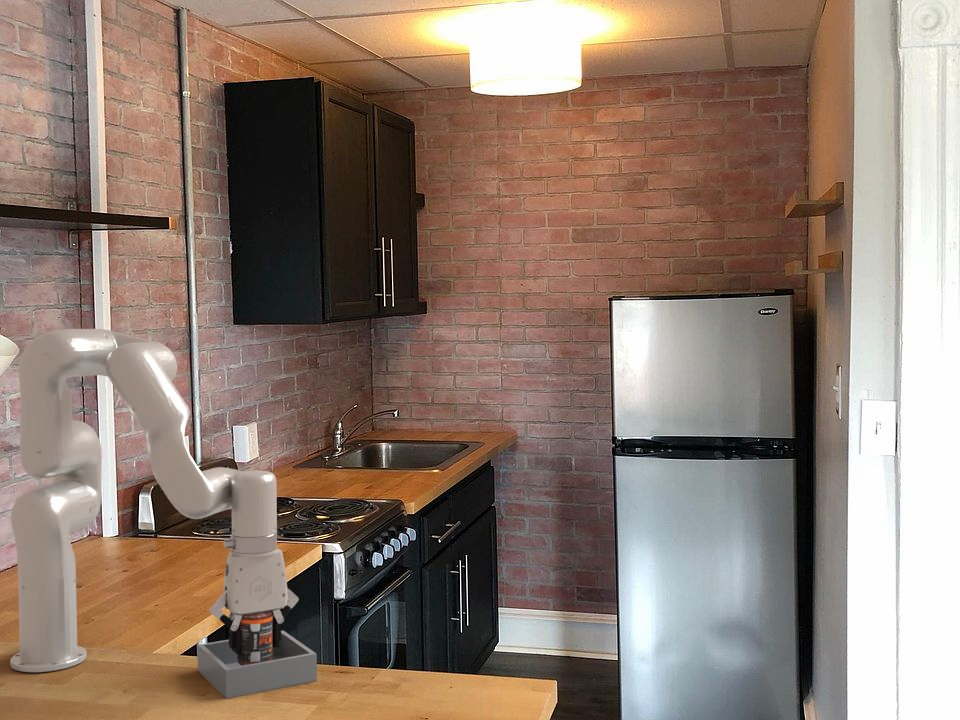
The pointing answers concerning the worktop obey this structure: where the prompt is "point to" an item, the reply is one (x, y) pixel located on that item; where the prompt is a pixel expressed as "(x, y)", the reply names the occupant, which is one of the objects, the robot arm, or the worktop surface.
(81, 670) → the worktop surface
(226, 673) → the bin
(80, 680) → the worktop surface
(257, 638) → the supplement bottle
